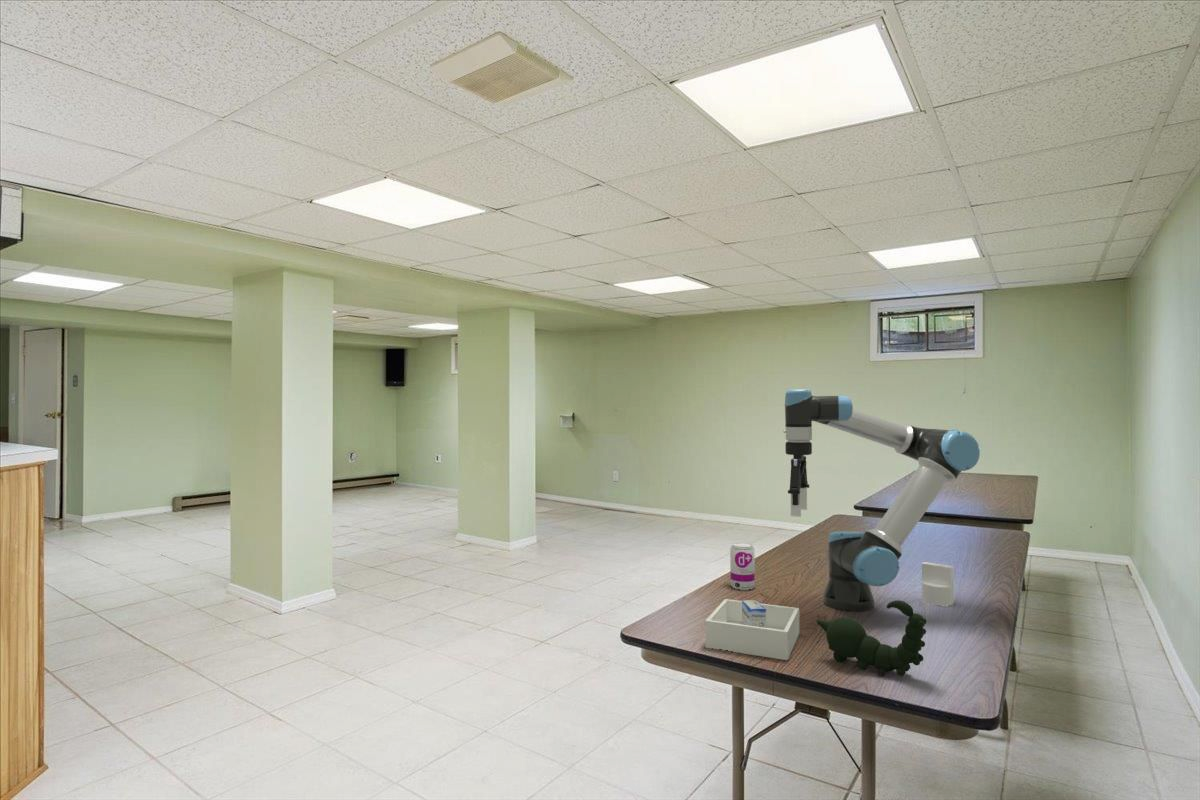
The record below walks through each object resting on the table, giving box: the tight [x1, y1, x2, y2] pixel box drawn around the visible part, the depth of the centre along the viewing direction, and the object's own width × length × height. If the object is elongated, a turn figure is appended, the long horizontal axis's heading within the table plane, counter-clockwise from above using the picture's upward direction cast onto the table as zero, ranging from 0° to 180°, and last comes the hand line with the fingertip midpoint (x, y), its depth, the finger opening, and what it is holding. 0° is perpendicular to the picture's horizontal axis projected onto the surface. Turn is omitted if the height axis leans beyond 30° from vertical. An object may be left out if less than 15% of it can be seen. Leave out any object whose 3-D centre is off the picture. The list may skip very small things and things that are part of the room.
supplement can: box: [729, 542, 756, 591], centre depth 226 cm, size 8×8×15 cm
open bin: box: [704, 598, 800, 661], centre depth 175 cm, size 21×21×7 cm
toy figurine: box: [815, 599, 928, 677], centre depth 156 cm, size 9×19×25 cm
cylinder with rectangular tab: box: [921, 561, 955, 607], centre depth 208 cm, size 9×9×12 cm
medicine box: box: [741, 599, 766, 628], centre depth 175 cm, size 8×4×9 cm, turn 5°
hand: (799, 512), depth 192 cm, fingers open, 13 cm apart
